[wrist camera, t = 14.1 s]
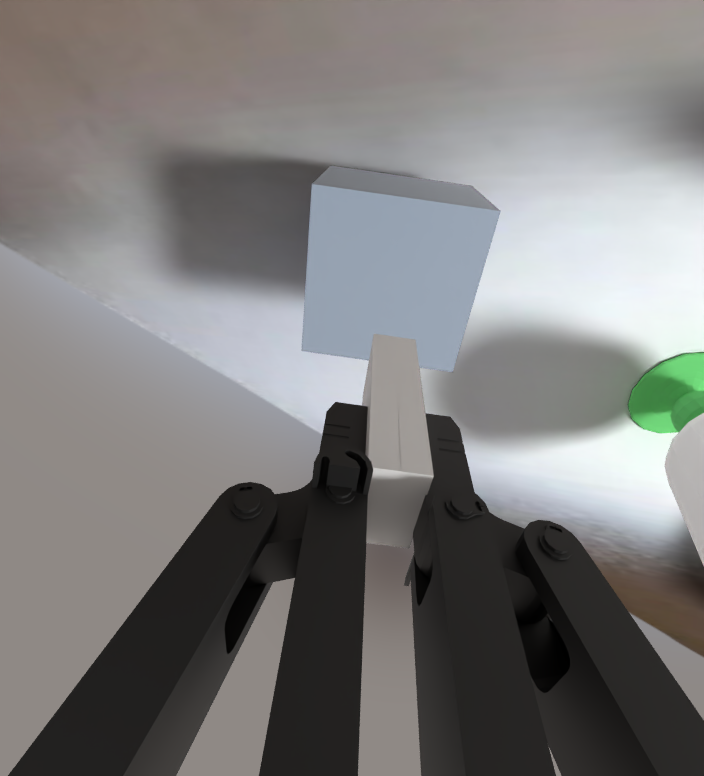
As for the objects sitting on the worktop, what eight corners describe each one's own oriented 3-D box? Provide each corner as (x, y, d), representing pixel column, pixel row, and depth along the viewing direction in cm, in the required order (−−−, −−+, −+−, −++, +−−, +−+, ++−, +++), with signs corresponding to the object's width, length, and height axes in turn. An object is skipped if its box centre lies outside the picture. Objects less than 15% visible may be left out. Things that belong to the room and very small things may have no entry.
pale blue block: (319, 299, 34) (301, 350, 26) (331, 165, 28) (311, 183, 21) (438, 316, 34) (452, 372, 27) (471, 185, 28) (500, 211, 21)
